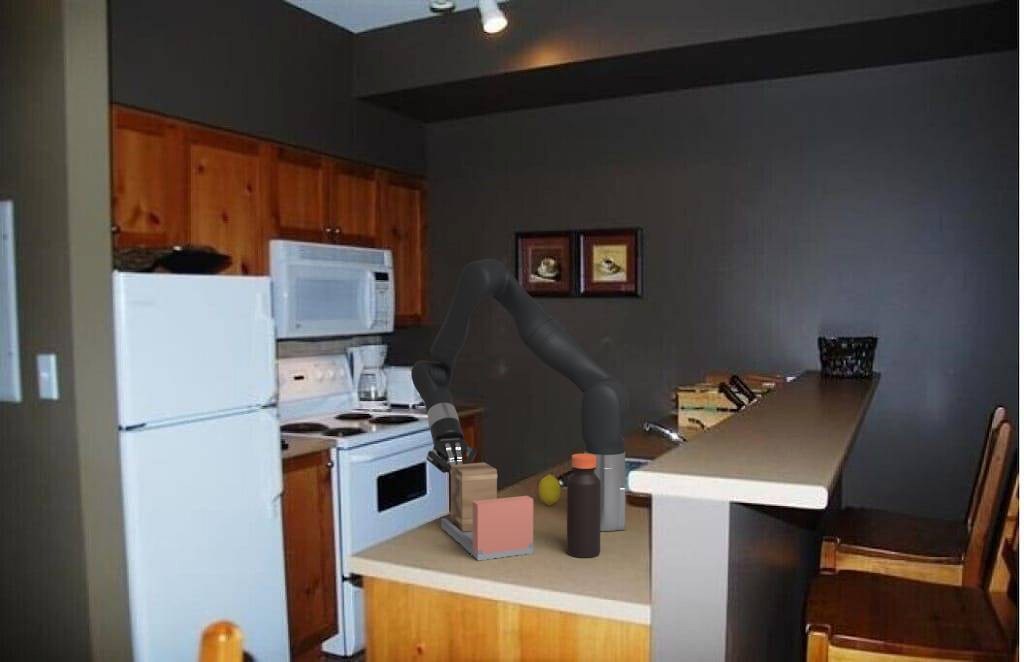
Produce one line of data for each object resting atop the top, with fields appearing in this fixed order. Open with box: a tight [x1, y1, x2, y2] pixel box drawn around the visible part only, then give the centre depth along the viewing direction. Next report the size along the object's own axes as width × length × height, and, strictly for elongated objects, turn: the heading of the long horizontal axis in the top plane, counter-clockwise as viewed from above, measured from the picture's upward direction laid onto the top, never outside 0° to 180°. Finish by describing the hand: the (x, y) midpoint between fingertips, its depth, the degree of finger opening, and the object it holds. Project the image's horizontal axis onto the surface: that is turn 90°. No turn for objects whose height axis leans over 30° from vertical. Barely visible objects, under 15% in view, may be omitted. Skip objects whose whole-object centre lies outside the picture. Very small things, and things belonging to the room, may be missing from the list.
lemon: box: [538, 474, 561, 507], centre depth 195 cm, size 6×6×8 cm
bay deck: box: [440, 517, 534, 562], centre depth 166 cm, size 24×12×2 cm, turn 22°
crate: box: [449, 462, 498, 532], centre depth 173 cm, size 8×8×13 cm
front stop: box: [473, 495, 534, 555], centre depth 156 cm, size 3×12×10 cm, turn 112°
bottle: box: [566, 453, 601, 559], centre depth 157 cm, size 7×7×20 cm
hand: (460, 485), depth 181 cm, fingers closed
